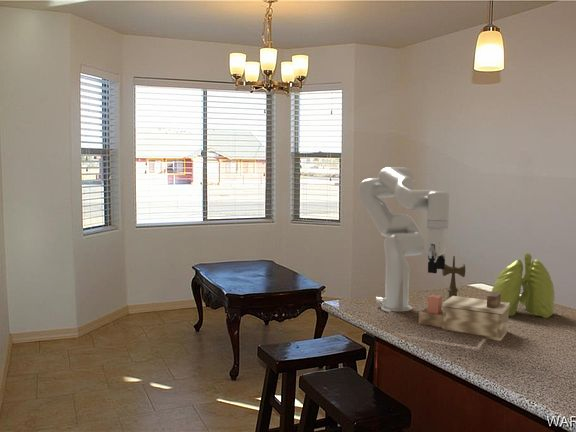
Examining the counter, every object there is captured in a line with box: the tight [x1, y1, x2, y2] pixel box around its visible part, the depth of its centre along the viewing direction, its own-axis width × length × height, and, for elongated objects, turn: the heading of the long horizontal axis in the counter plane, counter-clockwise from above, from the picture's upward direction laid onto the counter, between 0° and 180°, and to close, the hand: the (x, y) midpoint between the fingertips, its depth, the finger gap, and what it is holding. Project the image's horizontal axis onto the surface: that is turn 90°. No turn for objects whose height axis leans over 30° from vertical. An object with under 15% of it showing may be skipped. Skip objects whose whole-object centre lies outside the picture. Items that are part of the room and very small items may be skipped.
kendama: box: [441, 255, 466, 300], centre depth 253 cm, size 6×10×20 cm, turn 82°
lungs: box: [490, 253, 556, 319], centre depth 233 cm, size 25×16×24 cm, turn 81°
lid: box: [442, 290, 510, 314], centre depth 206 cm, size 20×13×5 cm, turn 59°
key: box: [427, 294, 443, 314], centre depth 214 cm, size 4×4×10 cm
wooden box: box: [418, 306, 510, 342], centre depth 209 cm, size 30×13×9 cm, turn 59°
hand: (436, 270), depth 212 cm, fingers open, 9 cm apart
